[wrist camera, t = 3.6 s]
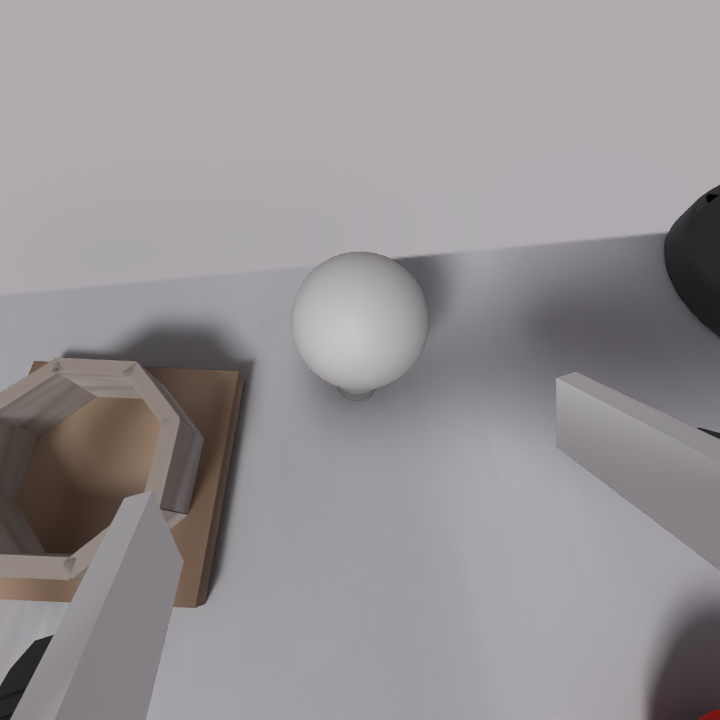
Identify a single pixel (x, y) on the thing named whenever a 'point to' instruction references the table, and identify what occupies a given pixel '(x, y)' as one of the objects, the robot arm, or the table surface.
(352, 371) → the lightbulb
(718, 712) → the tomato
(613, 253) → the table surface
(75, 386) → the bulb socket
